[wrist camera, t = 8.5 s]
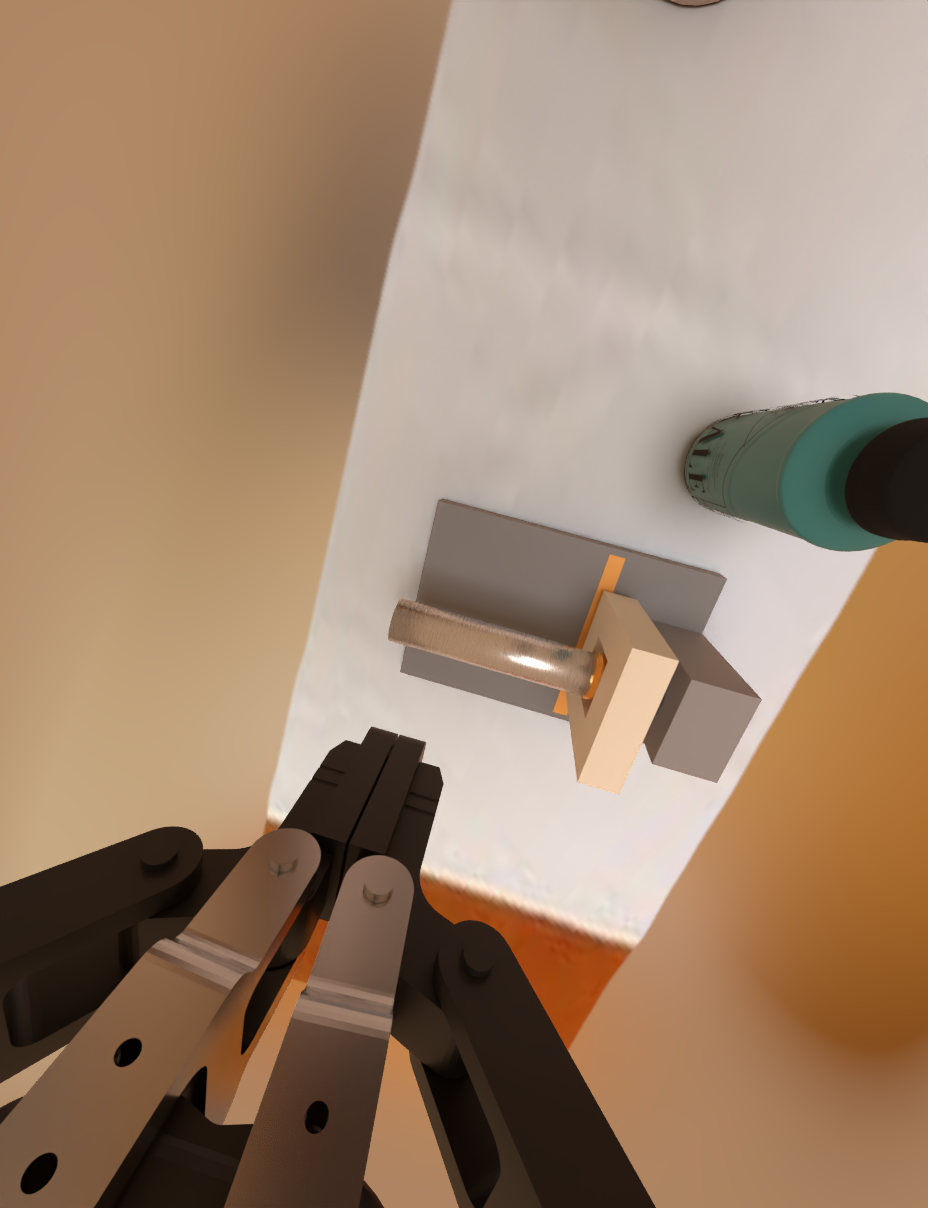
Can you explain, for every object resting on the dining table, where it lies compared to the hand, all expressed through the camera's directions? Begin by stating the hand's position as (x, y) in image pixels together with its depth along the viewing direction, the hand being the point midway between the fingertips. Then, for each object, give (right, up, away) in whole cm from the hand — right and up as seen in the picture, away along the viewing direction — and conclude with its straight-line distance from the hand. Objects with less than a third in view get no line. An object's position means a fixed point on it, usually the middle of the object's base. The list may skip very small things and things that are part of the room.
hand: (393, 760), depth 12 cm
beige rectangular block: (+12, +1, +24) cm, 27 cm away
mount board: (+8, +3, +27) cm, 28 cm away
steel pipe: (+7, +1, +21) cm, 22 cm away
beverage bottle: (+20, +14, +21) cm, 33 cm away
